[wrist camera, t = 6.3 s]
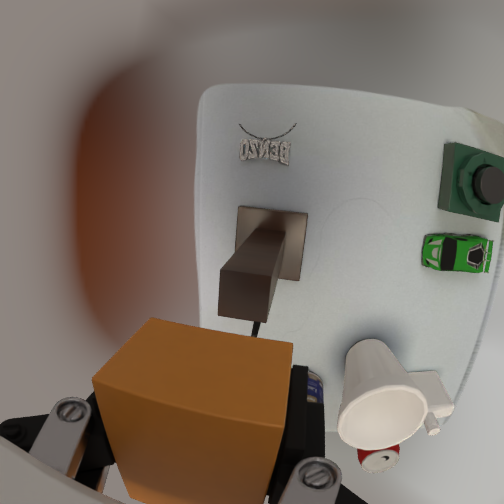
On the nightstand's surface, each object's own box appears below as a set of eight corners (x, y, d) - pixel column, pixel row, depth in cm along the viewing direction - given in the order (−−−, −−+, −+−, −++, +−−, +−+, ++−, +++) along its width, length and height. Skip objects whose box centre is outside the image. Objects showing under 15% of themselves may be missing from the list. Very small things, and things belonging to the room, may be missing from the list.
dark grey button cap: (473, 162, 27) (482, 163, 25) (499, 170, 27) (508, 171, 25) (469, 198, 28) (478, 200, 26) (495, 204, 28) (504, 207, 26)
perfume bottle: (436, 369, 38) (464, 421, 27) (433, 380, 39) (458, 432, 27) (388, 372, 40) (406, 429, 28) (385, 383, 40) (402, 441, 29)
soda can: (364, 423, 42) (372, 480, 31) (345, 405, 42) (351, 465, 30) (393, 405, 41) (408, 461, 29) (375, 386, 40) (389, 445, 29)
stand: (239, 205, 37) (189, 232, 21) (307, 213, 36) (310, 247, 20) (234, 270, 39) (187, 336, 23) (299, 278, 38) (293, 354, 22)
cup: (411, 363, 39) (437, 424, 26) (350, 395, 41) (358, 461, 29) (384, 311, 37) (412, 368, 25) (318, 347, 40) (320, 414, 28)
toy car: (419, 268, 35) (425, 273, 33) (423, 230, 34) (430, 234, 32) (481, 269, 34) (489, 275, 32) (486, 235, 33) (495, 239, 31)
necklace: (293, 166, 35) (296, 123, 34) (293, 166, 34) (296, 123, 33) (236, 161, 36) (239, 120, 34) (235, 161, 35) (238, 119, 34)
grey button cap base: (444, 143, 31) (462, 141, 26) (493, 158, 30) (514, 158, 25) (437, 208, 33) (454, 213, 28) (486, 218, 32) (506, 225, 27)
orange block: (150, 316, 10) (89, 378, 6) (293, 342, 9) (284, 427, 6) (162, 437, 11) (129, 498, 8) (268, 461, 11) (254, 531, 7)
